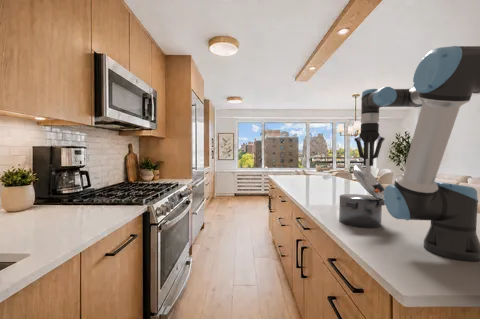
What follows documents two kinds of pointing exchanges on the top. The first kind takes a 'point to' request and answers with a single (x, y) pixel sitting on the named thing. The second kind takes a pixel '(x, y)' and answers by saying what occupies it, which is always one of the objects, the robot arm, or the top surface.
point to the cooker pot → (360, 210)
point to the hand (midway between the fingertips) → (368, 172)
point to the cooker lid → (369, 182)
